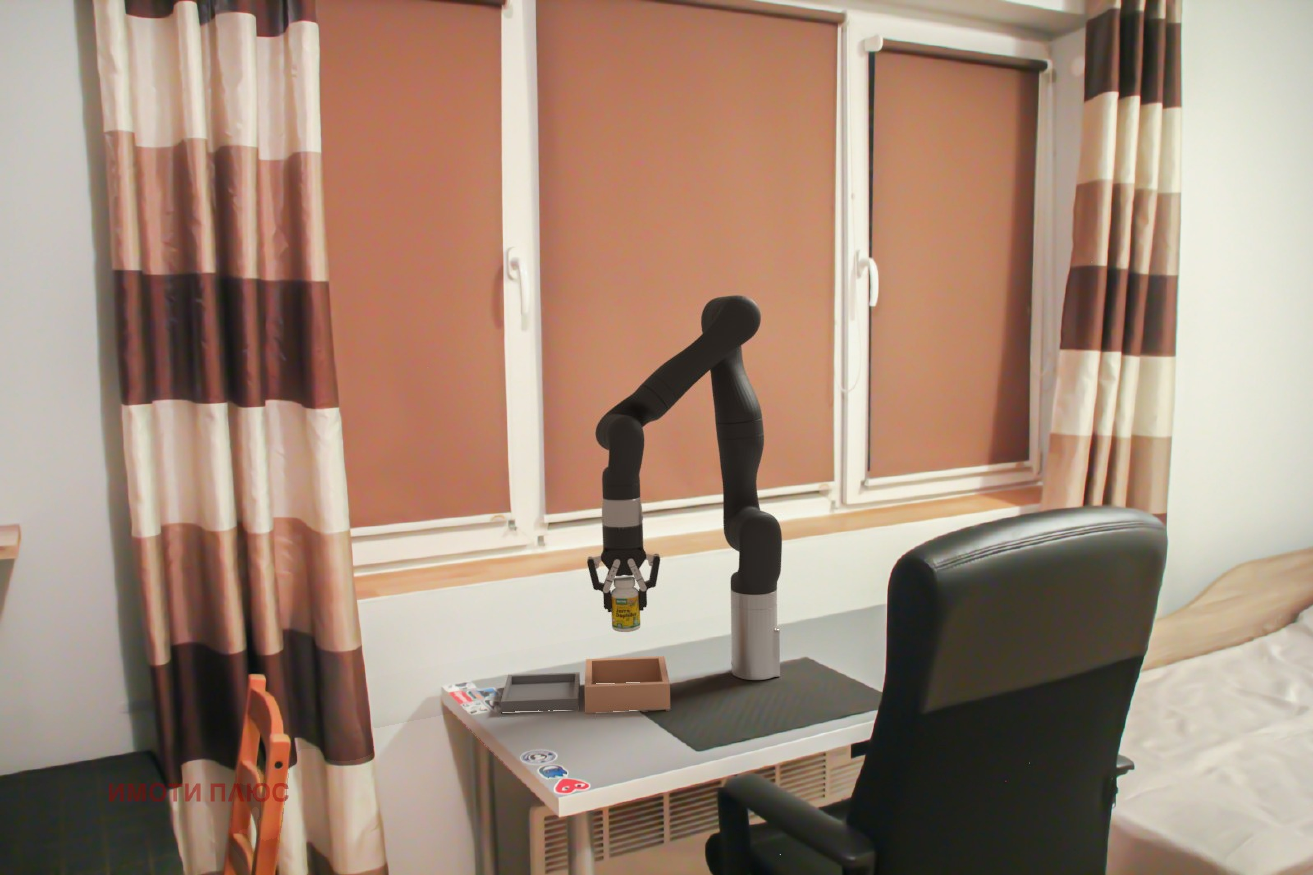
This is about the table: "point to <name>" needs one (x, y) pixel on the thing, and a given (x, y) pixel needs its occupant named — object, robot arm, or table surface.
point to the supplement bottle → (625, 605)
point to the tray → (541, 692)
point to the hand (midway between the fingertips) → (625, 610)
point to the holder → (626, 684)
